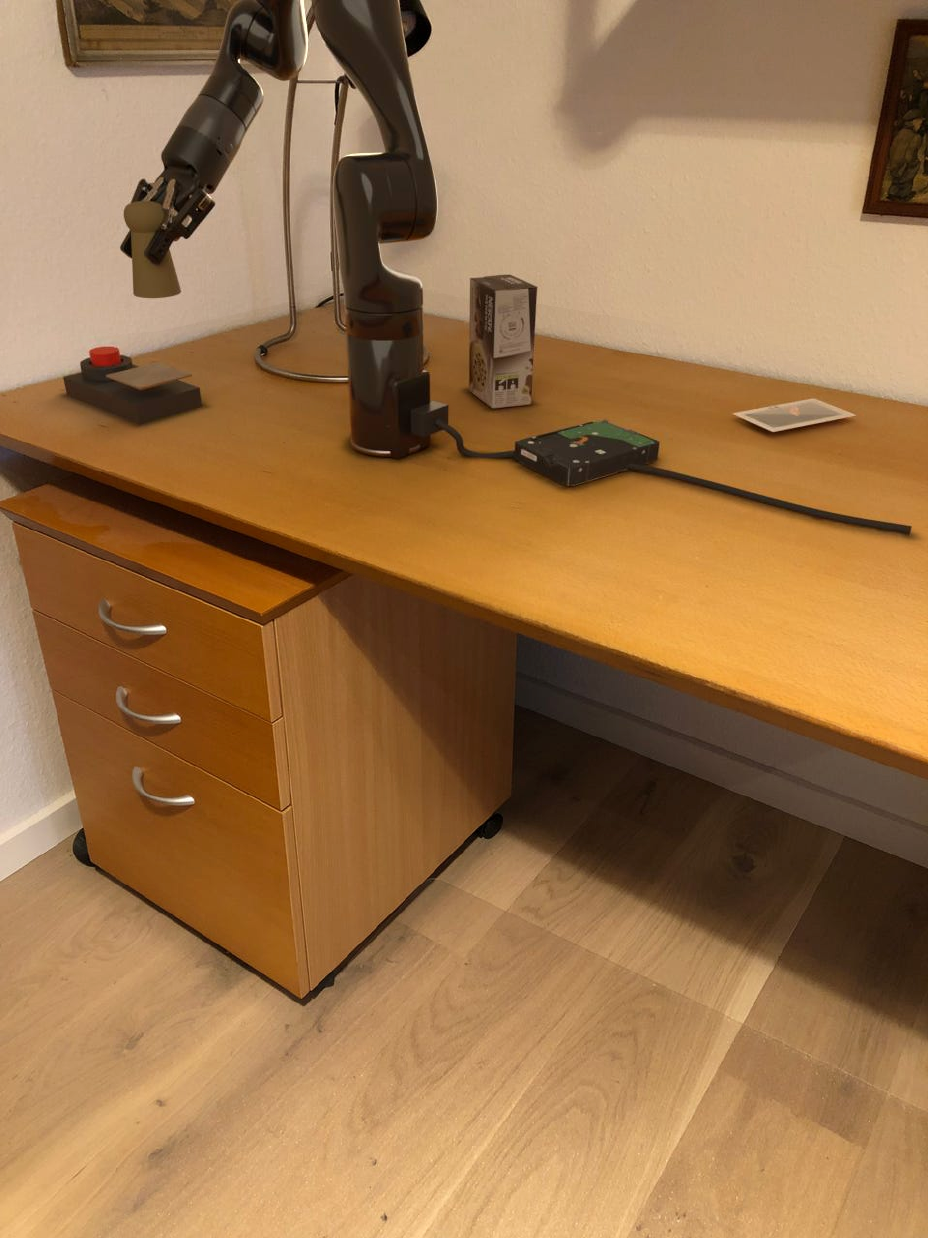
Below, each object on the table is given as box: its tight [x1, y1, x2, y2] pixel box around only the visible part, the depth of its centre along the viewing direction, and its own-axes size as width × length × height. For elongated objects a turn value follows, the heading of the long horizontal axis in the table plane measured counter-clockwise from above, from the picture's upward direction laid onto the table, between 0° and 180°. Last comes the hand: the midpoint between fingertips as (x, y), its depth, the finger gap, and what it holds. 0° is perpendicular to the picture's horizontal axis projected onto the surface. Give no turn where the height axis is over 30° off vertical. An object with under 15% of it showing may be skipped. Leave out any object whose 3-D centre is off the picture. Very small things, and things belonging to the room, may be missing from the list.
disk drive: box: [513, 419, 661, 487], centre depth 115 cm, size 10×3×15 cm
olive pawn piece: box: [123, 201, 182, 299], centre depth 121 cm, size 6×6×11 cm
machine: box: [62, 354, 203, 426], centre depth 131 cm, size 18×10×4 cm, turn 50°
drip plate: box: [106, 362, 193, 390], centre depth 127 cm, size 8×8×1 cm
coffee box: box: [468, 274, 538, 409], centre depth 132 cm, size 9×6×16 cm
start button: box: [88, 346, 121, 366], centre depth 133 cm, size 4×4×2 cm
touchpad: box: [731, 397, 857, 433], centre depth 128 cm, size 8×15×2 cm, turn 117°
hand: (138, 256), depth 120 cm, fingers closed on olive pawn piece, 4 cm apart
